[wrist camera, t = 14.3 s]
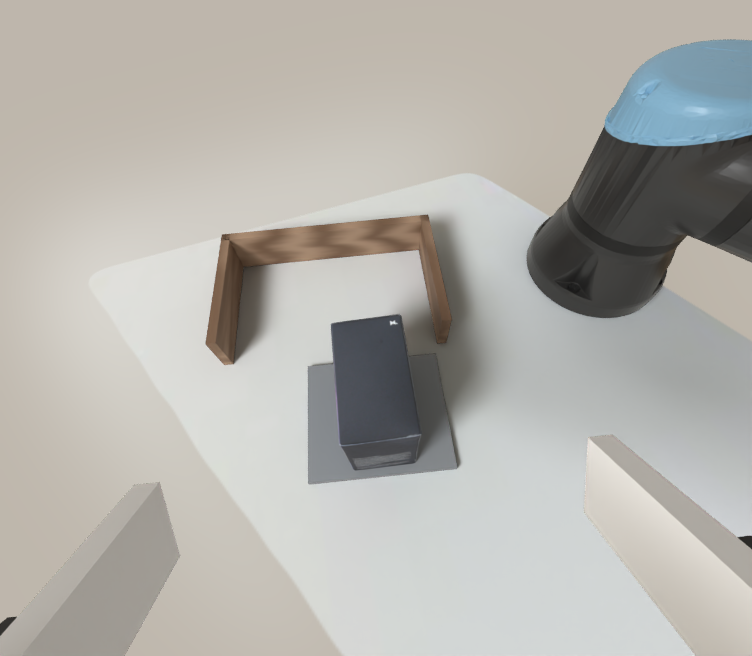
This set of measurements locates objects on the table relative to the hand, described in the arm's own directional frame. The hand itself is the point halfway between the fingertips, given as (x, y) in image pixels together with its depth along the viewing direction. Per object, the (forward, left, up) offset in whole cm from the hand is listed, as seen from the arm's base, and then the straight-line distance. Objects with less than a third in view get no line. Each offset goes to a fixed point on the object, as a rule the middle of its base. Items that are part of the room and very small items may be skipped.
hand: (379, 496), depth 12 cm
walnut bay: (+4, -25, -26) cm, 36 cm away
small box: (0, -11, -25) cm, 27 cm away
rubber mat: (0, -11, -26) cm, 28 cm away
